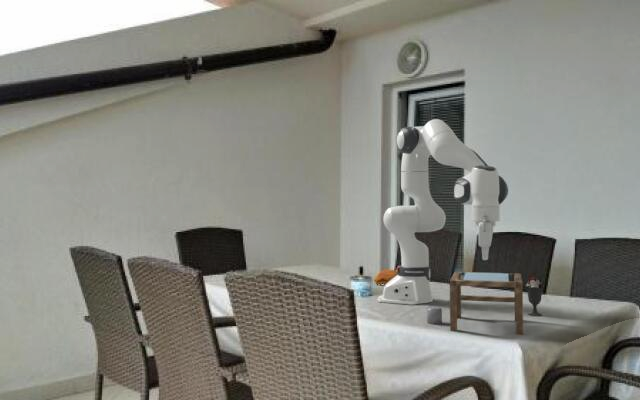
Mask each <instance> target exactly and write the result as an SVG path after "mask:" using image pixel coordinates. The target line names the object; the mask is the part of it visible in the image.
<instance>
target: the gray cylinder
mask: <svg viewBox="0 0 640 400" xmlns="http://www.w3.org/2000/svg"><path fill="white" fill-rule="evenodd" d="M426 323H427V324H429V325H441V324H443V307H440V306H428V307H427V308H426Z"/></svg>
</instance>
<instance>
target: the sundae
mask: <svg viewBox="0 0 640 400" xmlns="http://www.w3.org/2000/svg"><path fill="white" fill-rule="evenodd" d="M527 275H528V276H529V278H528V282H527V283H526V285H525V286H524V287H525V289H526V291H527V298H528V302H529V303H530V304H531V305H532V310H531V312H528V313H527V315H528V316H531V317H542V316H543V313H539V312H538V308H537V306H538V305H539V304H540V303H541V301H542V293H543V290H544V289H545V286H544V285H543V284H544V281H542V282H540V280H538V279H537V278H535V277H533V275H532V274H531V273H530V272H527Z"/></svg>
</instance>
